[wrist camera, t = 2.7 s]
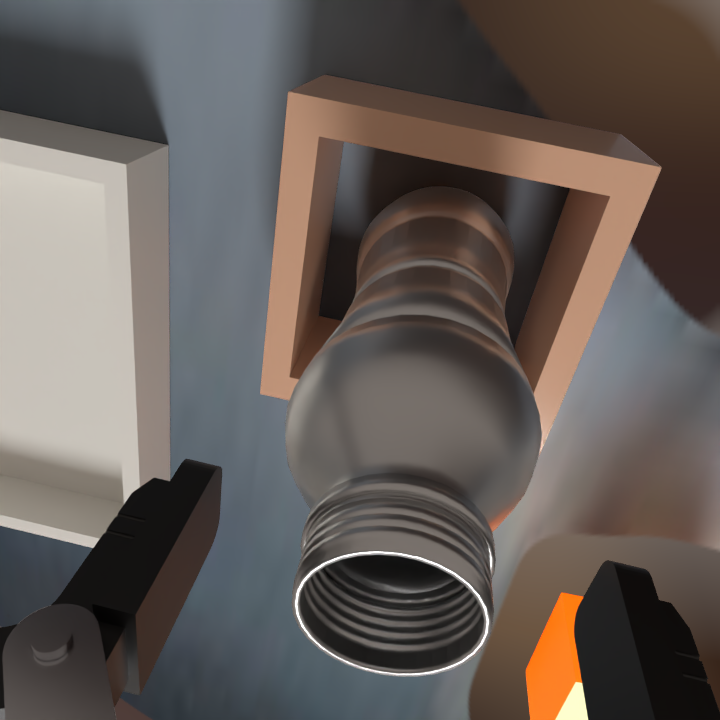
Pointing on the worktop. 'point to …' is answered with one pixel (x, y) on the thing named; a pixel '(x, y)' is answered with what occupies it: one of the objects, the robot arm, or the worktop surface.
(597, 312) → the terracotta holder
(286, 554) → the worktop surface
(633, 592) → the robot arm
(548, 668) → the orange juice
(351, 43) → the worktop surface
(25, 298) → the plastic tray
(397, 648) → the plastic bottle
